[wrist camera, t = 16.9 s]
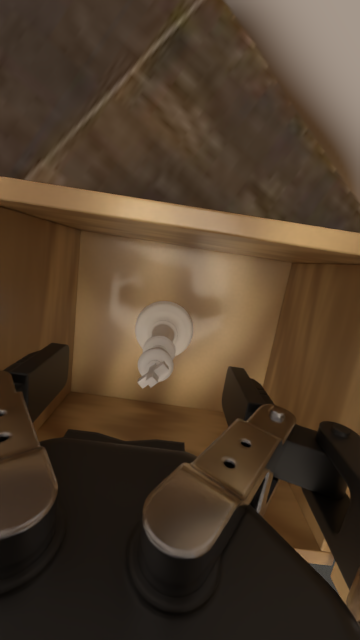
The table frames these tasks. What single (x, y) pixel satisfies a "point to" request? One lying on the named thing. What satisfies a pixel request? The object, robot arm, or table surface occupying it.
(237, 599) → the robot arm
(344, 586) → the lid
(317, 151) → the table surface
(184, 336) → the chess piece
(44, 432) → the chest
